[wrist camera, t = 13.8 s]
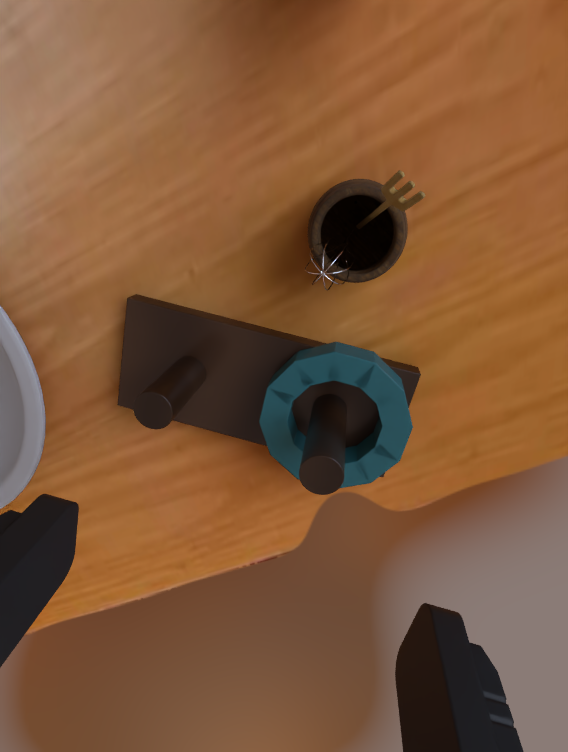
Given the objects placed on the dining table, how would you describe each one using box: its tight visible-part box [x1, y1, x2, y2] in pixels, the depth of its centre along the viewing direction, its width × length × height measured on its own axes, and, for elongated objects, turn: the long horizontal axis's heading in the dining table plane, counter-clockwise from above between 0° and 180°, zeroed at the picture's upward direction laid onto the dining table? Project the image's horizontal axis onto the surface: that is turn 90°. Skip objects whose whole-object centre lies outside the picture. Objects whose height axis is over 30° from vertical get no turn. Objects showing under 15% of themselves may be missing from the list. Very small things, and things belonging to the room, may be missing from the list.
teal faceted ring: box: [259, 342, 413, 488], centre depth 33 cm, size 10×10×2 cm
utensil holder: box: [305, 170, 425, 291], centre depth 26 cm, size 6×6×12 cm
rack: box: [118, 294, 421, 495], centre depth 31 cm, size 22×9×10 cm, turn 77°
